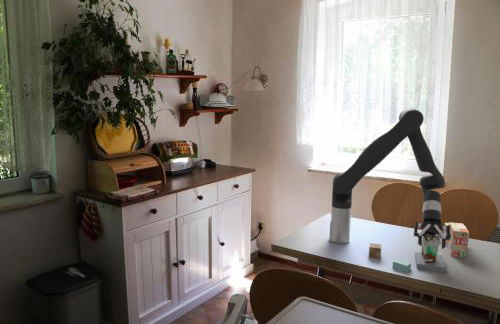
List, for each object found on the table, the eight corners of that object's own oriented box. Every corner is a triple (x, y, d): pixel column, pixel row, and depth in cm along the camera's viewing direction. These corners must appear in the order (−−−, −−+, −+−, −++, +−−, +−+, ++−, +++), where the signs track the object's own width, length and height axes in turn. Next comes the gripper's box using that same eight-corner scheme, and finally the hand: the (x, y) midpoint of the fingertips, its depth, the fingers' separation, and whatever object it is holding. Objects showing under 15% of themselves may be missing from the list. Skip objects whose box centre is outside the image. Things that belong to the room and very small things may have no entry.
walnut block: (368, 257, 182) (369, 246, 181) (369, 253, 186) (369, 243, 186) (380, 259, 180) (381, 248, 179) (380, 255, 185) (381, 244, 184)
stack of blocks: (442, 240, 205) (445, 216, 203) (456, 241, 204) (459, 217, 202) (451, 256, 185) (453, 230, 183) (466, 258, 183) (469, 231, 181)
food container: (441, 265, 170) (444, 242, 168) (425, 264, 171) (428, 241, 169) (435, 254, 181) (438, 232, 180) (420, 253, 183) (422, 231, 181)
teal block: (392, 268, 172) (392, 261, 171) (396, 265, 175) (397, 258, 174) (406, 272, 168) (407, 265, 167) (410, 269, 170) (411, 263, 170)
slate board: (416, 268, 172) (417, 263, 171) (414, 255, 185) (415, 251, 184) (445, 272, 168) (446, 267, 168) (441, 259, 181) (442, 255, 181)
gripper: (415, 207, 182) (414, 240, 173) (451, 210, 177) (451, 245, 169) (413, 215, 188) (412, 248, 179) (448, 218, 183) (448, 252, 174)
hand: (431, 246), depth 174 cm, fingers open, 8 cm apart
